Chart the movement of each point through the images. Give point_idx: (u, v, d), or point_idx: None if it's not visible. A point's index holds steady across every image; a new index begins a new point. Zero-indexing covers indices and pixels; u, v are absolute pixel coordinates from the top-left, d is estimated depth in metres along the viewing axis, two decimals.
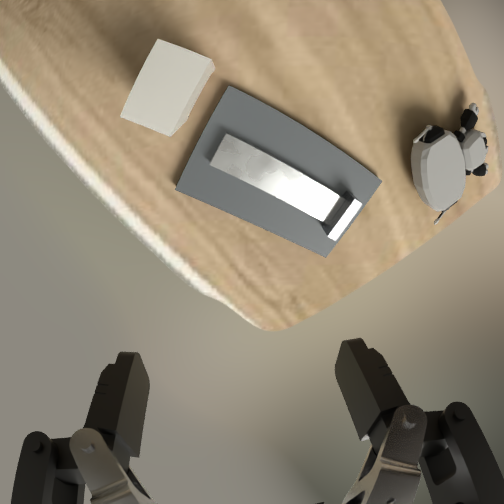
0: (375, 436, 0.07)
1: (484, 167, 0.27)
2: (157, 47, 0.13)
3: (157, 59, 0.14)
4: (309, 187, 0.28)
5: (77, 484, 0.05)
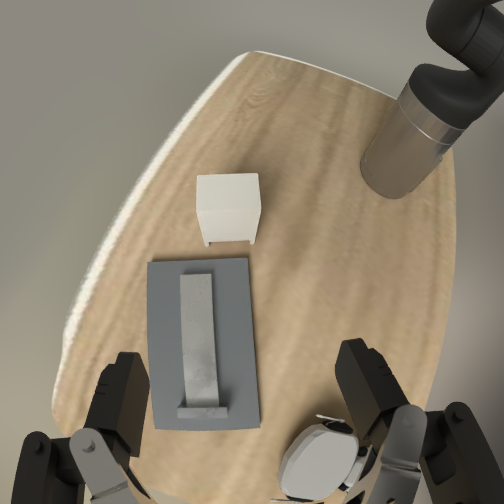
0: (375, 436, 0.07)
1: None
2: (252, 175, 0.27)
3: (244, 179, 0.27)
4: (207, 365, 0.28)
5: (77, 484, 0.05)
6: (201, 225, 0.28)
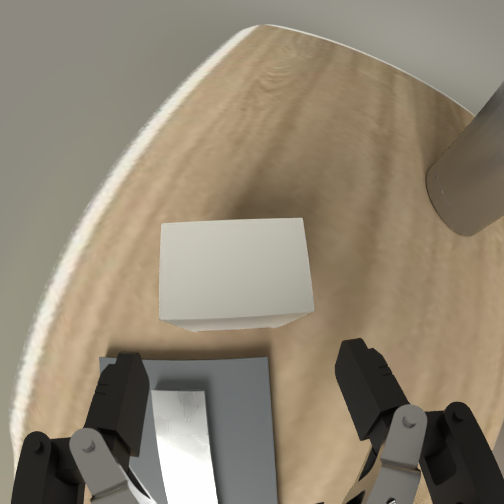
0: (375, 436, 0.07)
1: None
2: (290, 225, 0.12)
3: (272, 234, 0.12)
4: None
5: (77, 484, 0.05)
6: (179, 325, 0.13)
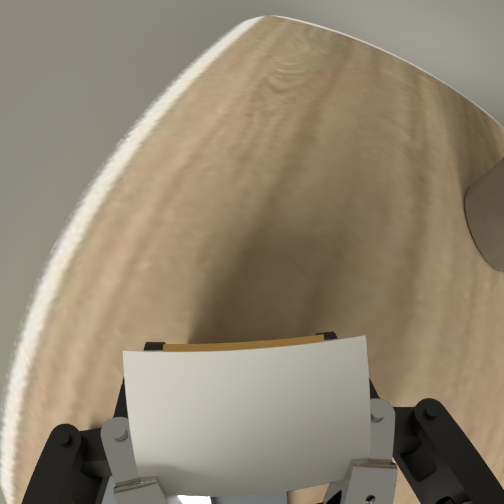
0: None
1: None
2: (346, 351, 0.06)
3: (317, 372, 0.06)
4: None
5: (101, 479, 0.06)
6: None
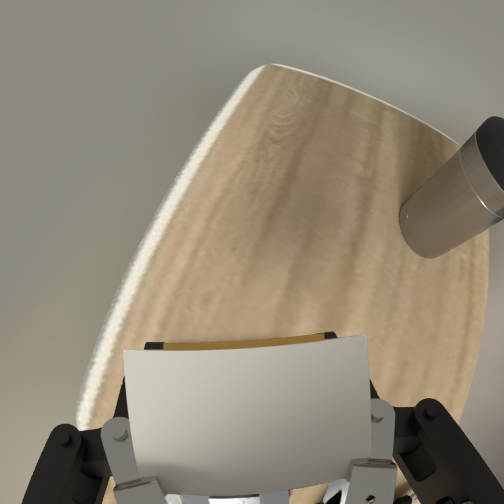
0: None
1: None
2: (347, 350, 0.06)
3: (317, 371, 0.06)
4: None
5: (101, 479, 0.06)
6: None
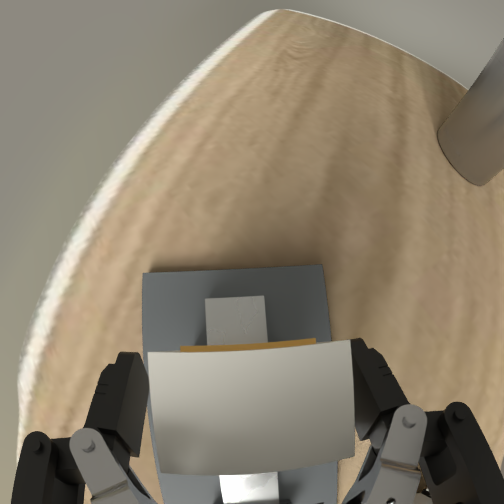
0: (375, 436, 0.07)
1: None
2: (334, 352, 0.08)
3: (309, 369, 0.07)
4: None
5: (77, 484, 0.05)
6: None
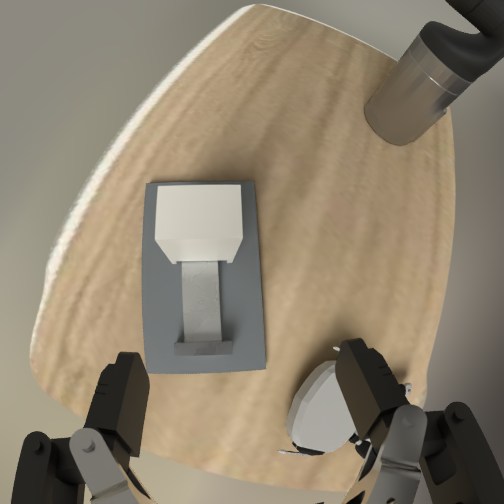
0: (375, 436, 0.07)
1: None
2: (232, 188, 0.20)
3: (221, 193, 0.20)
4: (209, 293, 0.26)
5: (77, 484, 0.05)
6: (164, 250, 0.21)
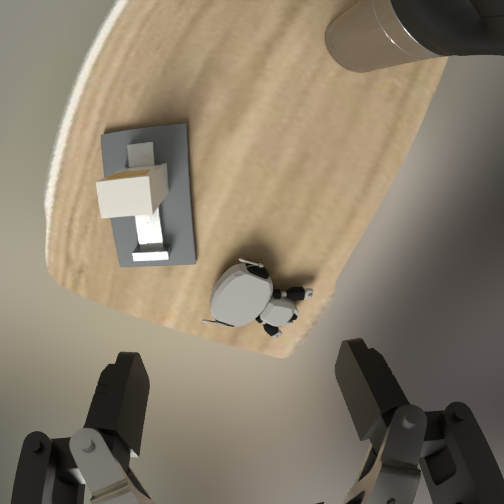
0: (375, 436, 0.07)
1: (276, 331, 0.46)
2: (143, 179, 0.26)
3: (136, 184, 0.26)
4: (152, 217, 0.36)
5: (77, 484, 0.05)
6: None
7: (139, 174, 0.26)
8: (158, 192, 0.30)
